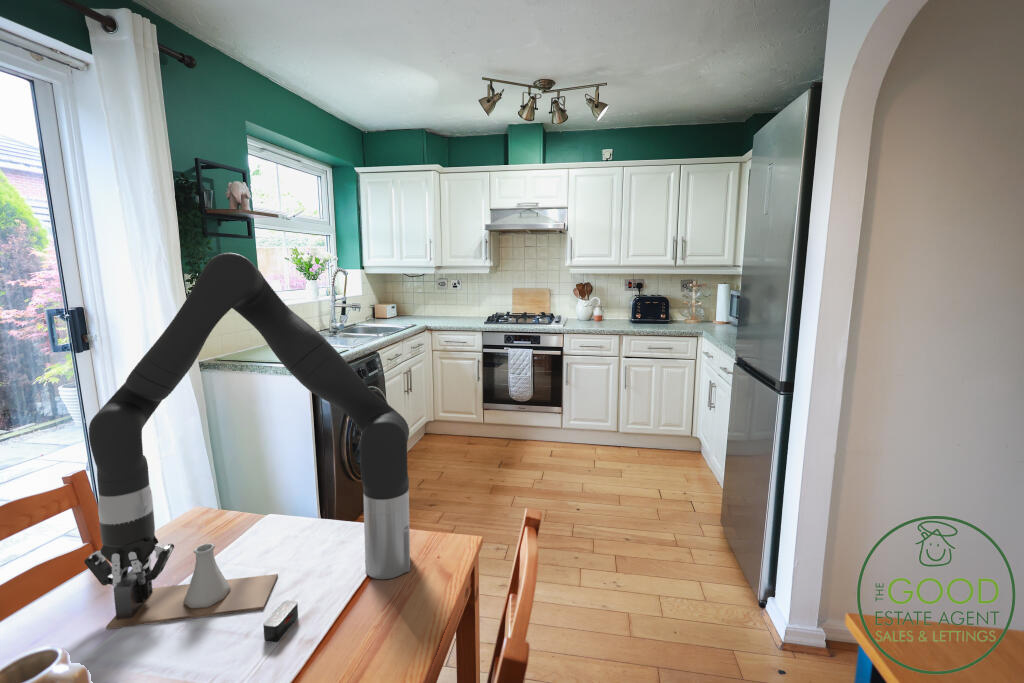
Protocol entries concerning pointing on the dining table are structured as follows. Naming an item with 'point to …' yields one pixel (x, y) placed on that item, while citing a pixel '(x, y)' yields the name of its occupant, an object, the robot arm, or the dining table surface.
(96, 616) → the dining table surface
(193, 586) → the flask
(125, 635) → the dining table surface
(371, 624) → the dining table surface
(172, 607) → the strip
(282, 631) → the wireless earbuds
